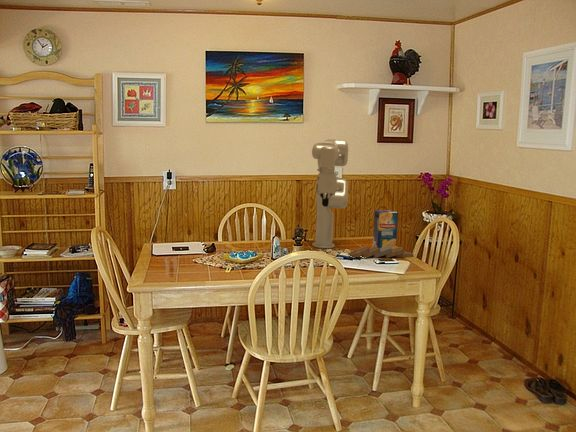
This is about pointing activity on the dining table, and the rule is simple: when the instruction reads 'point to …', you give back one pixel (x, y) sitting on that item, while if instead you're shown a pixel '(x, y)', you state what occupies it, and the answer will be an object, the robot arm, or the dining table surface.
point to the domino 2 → (372, 251)
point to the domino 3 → (383, 251)
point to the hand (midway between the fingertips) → (325, 206)
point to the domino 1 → (359, 252)
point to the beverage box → (385, 228)
